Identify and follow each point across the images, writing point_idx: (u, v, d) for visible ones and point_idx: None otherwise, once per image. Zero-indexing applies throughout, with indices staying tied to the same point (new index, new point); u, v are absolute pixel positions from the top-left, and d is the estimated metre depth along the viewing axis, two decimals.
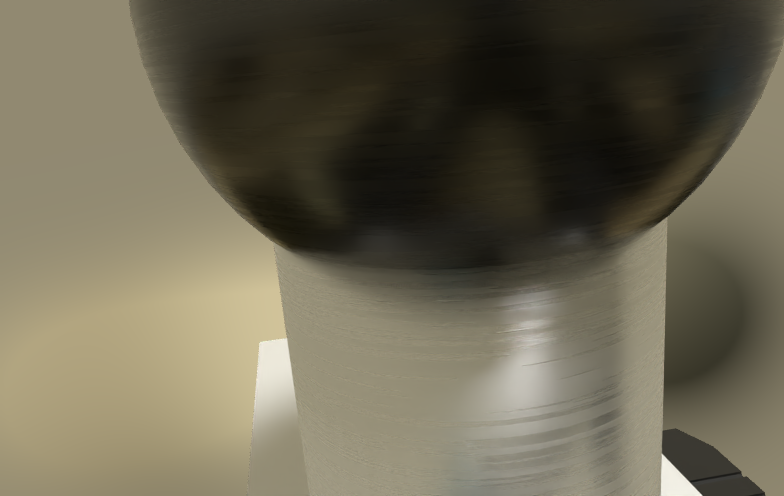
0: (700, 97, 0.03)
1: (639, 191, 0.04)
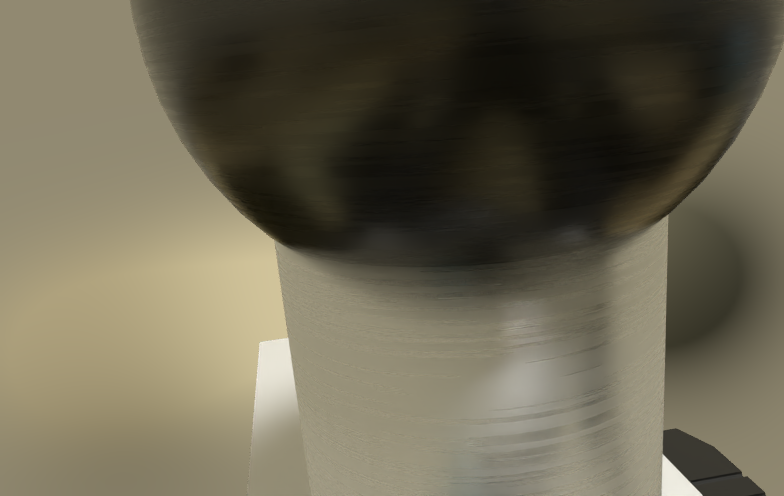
0: (704, 93, 0.03)
1: (642, 188, 0.04)
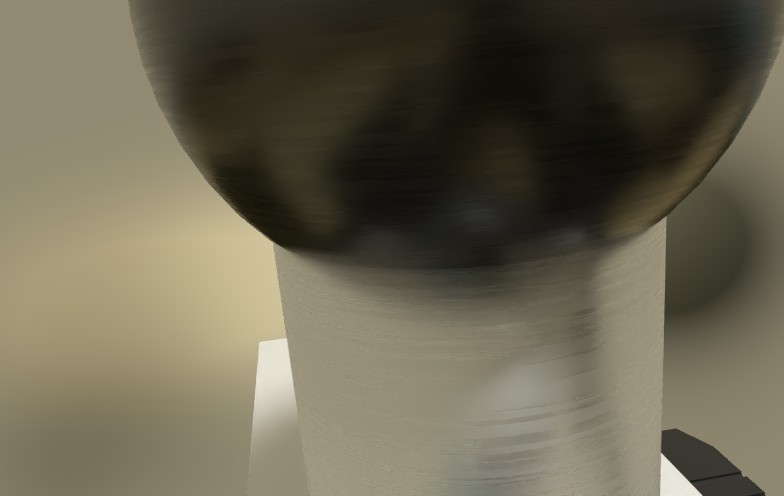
0: (697, 98, 0.03)
1: (637, 191, 0.04)
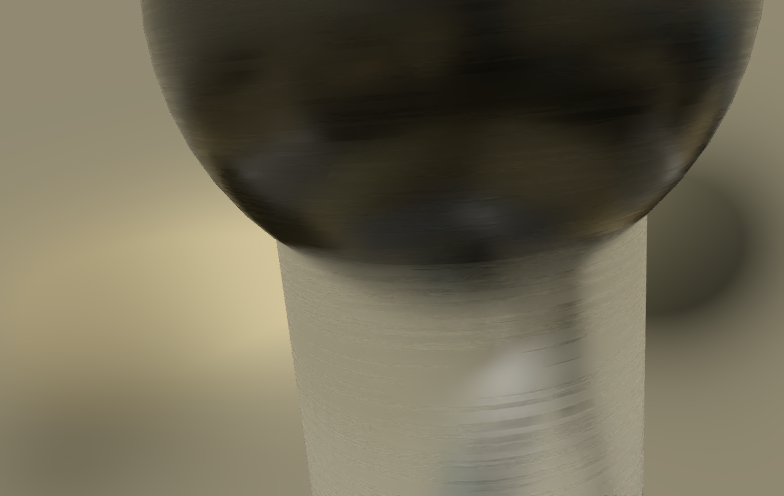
0: (670, 106, 0.04)
1: (615, 192, 0.04)
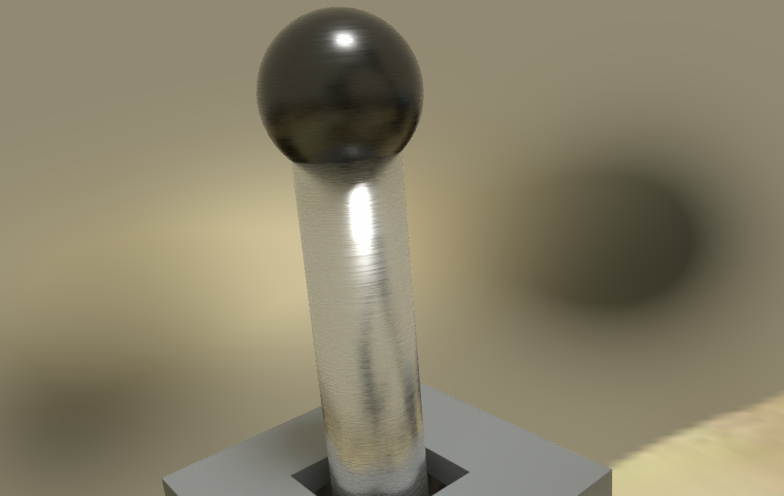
0: (382, 124, 0.17)
1: (373, 145, 0.17)
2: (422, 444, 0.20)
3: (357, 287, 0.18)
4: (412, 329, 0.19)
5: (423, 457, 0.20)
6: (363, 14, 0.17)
